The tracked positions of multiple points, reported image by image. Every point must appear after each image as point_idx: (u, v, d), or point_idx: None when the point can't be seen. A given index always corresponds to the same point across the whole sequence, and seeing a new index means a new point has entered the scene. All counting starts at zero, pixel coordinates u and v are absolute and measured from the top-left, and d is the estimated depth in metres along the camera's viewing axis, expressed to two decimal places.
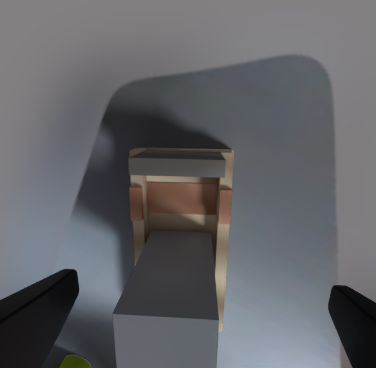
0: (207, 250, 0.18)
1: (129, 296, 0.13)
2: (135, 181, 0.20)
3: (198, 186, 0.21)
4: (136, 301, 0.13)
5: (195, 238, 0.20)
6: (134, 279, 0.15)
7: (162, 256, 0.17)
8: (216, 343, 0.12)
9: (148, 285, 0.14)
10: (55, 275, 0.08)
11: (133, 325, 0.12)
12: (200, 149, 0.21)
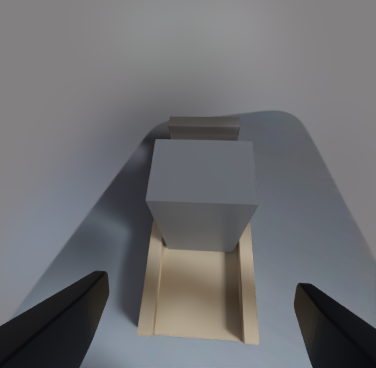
0: None
1: None
2: None
3: None
4: None
5: None
6: None
7: None
8: (253, 162, 0.12)
9: None
10: (88, 277, 0.08)
11: (173, 148, 0.13)
12: None
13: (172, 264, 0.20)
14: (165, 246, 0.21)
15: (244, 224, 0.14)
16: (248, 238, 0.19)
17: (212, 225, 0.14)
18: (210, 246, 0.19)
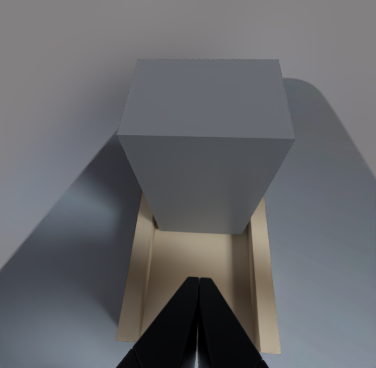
0: None
1: None
2: None
3: None
4: None
5: None
6: None
7: None
8: (282, 84, 0.08)
9: None
10: (187, 283, 0.07)
11: (163, 69, 0.09)
12: None
13: (165, 250, 0.16)
14: (157, 228, 0.17)
15: (265, 184, 0.09)
16: (262, 216, 0.15)
17: (218, 188, 0.10)
18: (213, 226, 0.15)
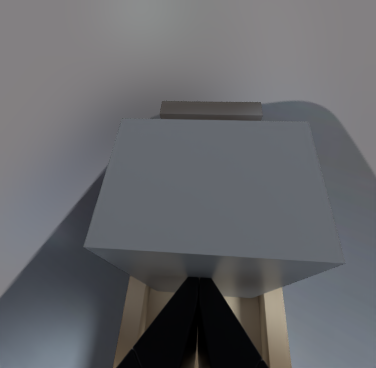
0: None
1: None
2: None
3: None
4: None
5: None
6: None
7: None
8: (316, 163, 0.06)
9: None
10: (187, 283, 0.07)
11: (154, 135, 0.07)
12: None
13: None
14: None
15: (289, 281, 0.07)
16: None
17: (227, 279, 0.08)
18: None
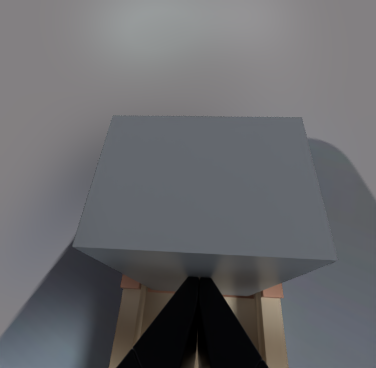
0: None
1: None
2: None
3: None
4: None
5: None
6: None
7: None
8: (310, 159, 0.06)
9: None
10: (187, 283, 0.07)
11: (145, 132, 0.07)
12: None
13: None
14: None
15: (284, 279, 0.07)
16: None
17: (221, 277, 0.08)
18: None
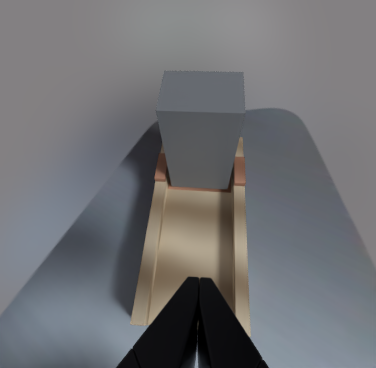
0: None
1: None
2: None
3: None
4: None
5: None
6: None
7: None
8: (242, 86, 0.15)
9: None
10: (187, 283, 0.07)
11: (178, 77, 0.16)
12: None
13: (167, 257, 0.20)
14: (161, 239, 0.21)
15: (235, 143, 0.17)
16: (243, 233, 0.20)
17: (209, 146, 0.17)
18: (208, 180, 0.22)
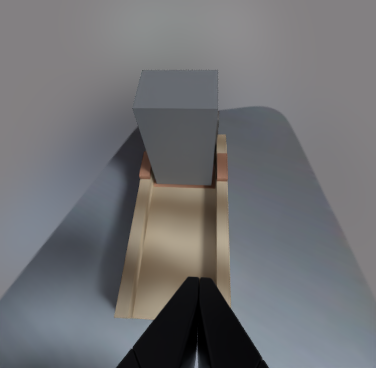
0: None
1: None
2: None
3: None
4: None
5: None
6: None
7: None
8: (216, 83, 0.16)
9: None
10: (187, 283, 0.07)
11: (155, 75, 0.17)
12: None
13: (152, 252, 0.21)
14: (146, 235, 0.22)
15: (212, 138, 0.17)
16: (225, 226, 0.20)
17: (188, 142, 0.18)
18: (191, 177, 0.22)
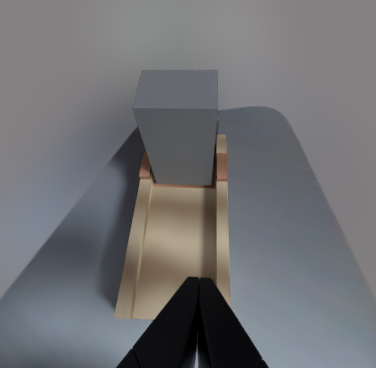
0: None
1: None
2: None
3: None
4: None
5: None
6: None
7: None
8: (216, 83, 0.16)
9: None
10: (187, 283, 0.07)
11: (155, 75, 0.17)
12: None
13: (152, 252, 0.21)
14: (146, 235, 0.22)
15: (212, 138, 0.17)
16: (225, 226, 0.20)
17: (188, 142, 0.18)
18: (191, 177, 0.22)
